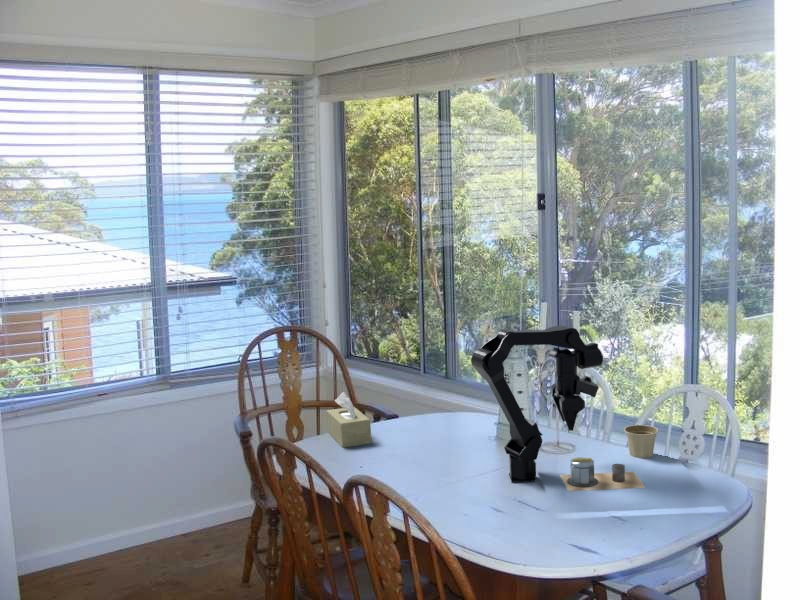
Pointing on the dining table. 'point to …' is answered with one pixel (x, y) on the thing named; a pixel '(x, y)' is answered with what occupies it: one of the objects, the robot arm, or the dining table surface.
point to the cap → (582, 471)
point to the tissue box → (348, 424)
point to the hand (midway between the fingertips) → (567, 425)
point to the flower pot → (641, 440)
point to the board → (607, 480)
